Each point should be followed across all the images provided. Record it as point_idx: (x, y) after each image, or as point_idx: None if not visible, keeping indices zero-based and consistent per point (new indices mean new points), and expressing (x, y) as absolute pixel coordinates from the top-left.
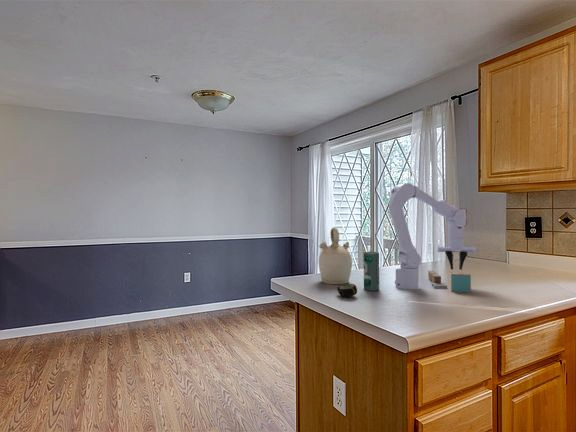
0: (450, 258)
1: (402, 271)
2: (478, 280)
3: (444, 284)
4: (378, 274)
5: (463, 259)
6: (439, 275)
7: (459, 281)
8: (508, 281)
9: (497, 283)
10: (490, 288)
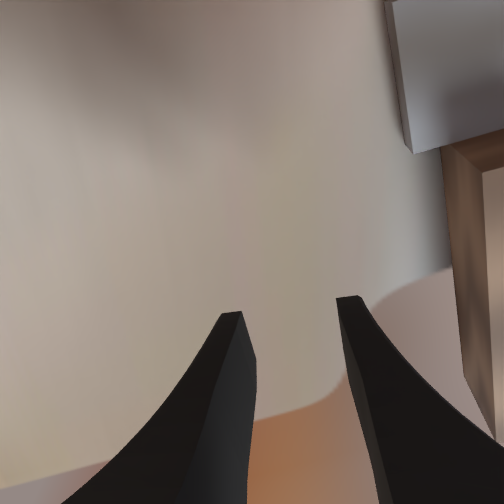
0: (432, 427)
1: None
2: None
3: (416, 84)
4: None
5: (151, 441)
6: (487, 245)
7: None
8: (4, 452)
9: (34, 391)
10: (13, 217)
